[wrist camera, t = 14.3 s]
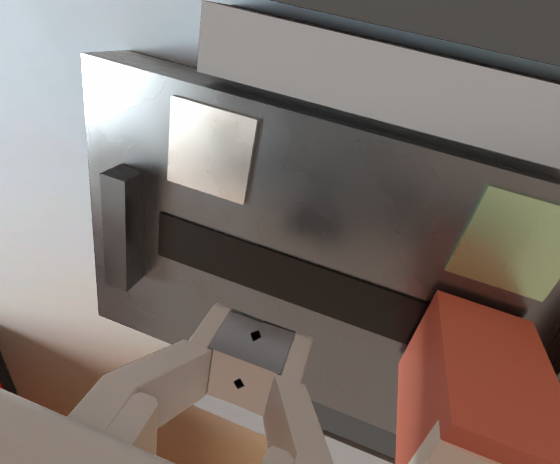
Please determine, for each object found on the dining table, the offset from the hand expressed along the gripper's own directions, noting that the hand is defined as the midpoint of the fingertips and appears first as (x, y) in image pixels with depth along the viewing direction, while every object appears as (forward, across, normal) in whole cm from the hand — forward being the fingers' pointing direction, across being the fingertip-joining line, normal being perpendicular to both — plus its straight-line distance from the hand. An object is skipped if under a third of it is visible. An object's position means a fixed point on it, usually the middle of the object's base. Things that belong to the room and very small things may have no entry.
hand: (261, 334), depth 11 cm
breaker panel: (+6, -1, 0) cm, 6 cm away
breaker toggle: (+3, -6, +1) cm, 7 cm away
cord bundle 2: (+6, -1, -8) cm, 10 cm away
